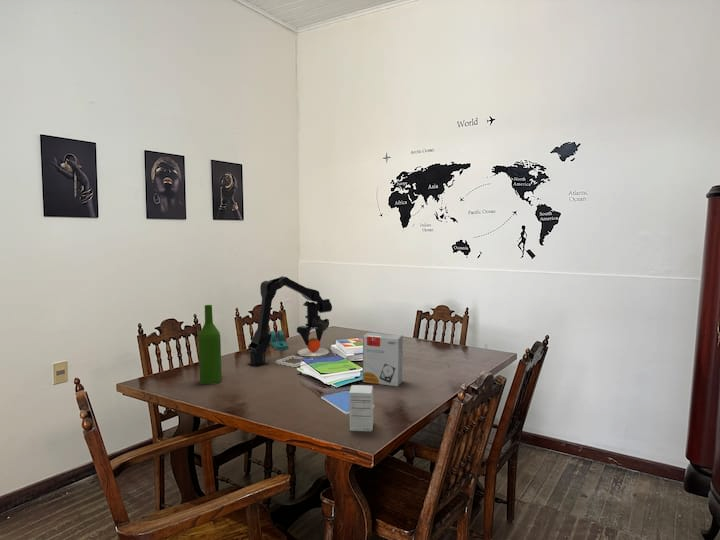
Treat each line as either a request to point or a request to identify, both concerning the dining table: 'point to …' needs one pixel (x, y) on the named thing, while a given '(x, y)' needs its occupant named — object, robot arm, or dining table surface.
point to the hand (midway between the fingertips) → (313, 343)
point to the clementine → (313, 344)
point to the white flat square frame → (289, 363)
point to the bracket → (278, 340)
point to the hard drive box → (382, 358)
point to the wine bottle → (209, 350)
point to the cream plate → (309, 353)
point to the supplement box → (361, 408)
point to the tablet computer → (339, 401)
